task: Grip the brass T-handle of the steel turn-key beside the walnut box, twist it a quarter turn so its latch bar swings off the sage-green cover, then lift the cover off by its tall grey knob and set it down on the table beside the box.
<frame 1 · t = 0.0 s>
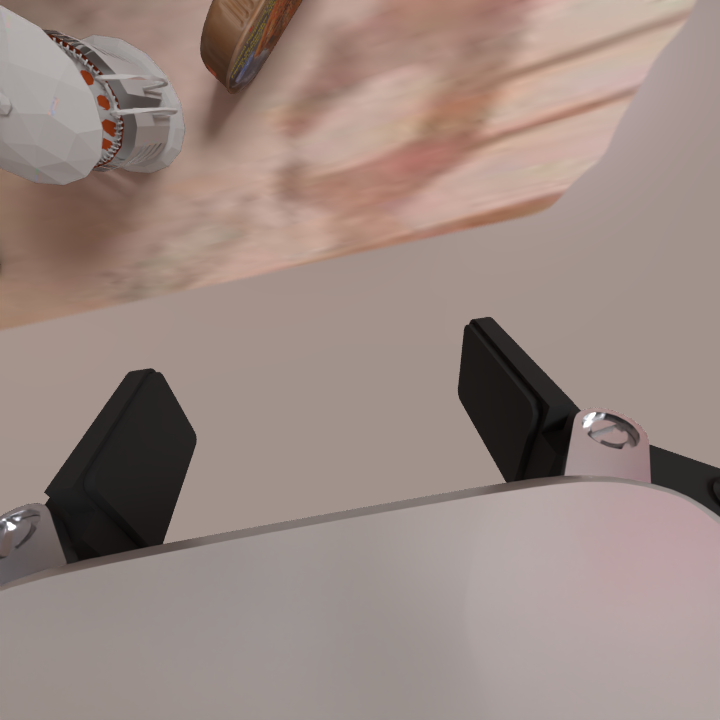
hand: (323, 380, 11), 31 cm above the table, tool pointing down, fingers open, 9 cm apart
french press: (136, 109, 30), on the table
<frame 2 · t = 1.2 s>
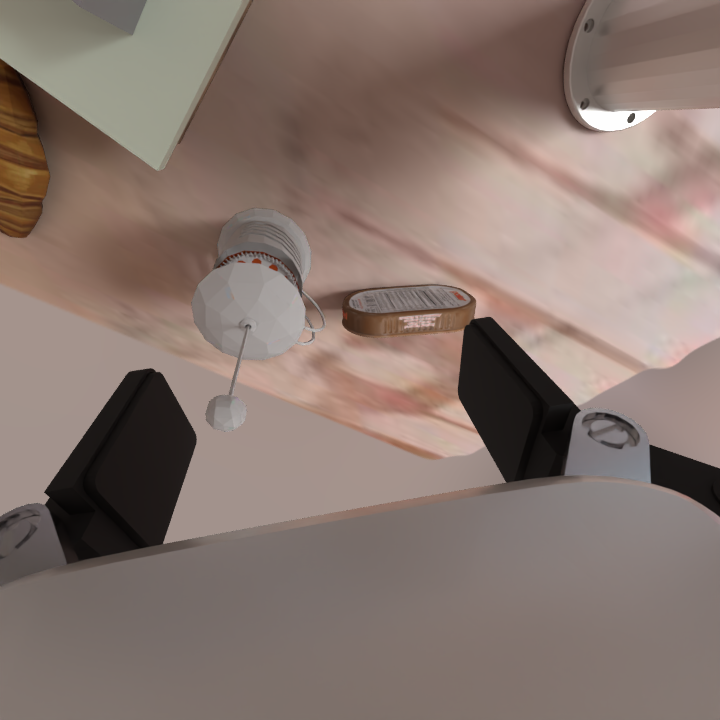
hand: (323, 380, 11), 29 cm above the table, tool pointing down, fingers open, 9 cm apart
tin: (399, 292, 41), on the table
french press: (273, 261, 37), on the table
croissant: (18, 155, 29), on the table
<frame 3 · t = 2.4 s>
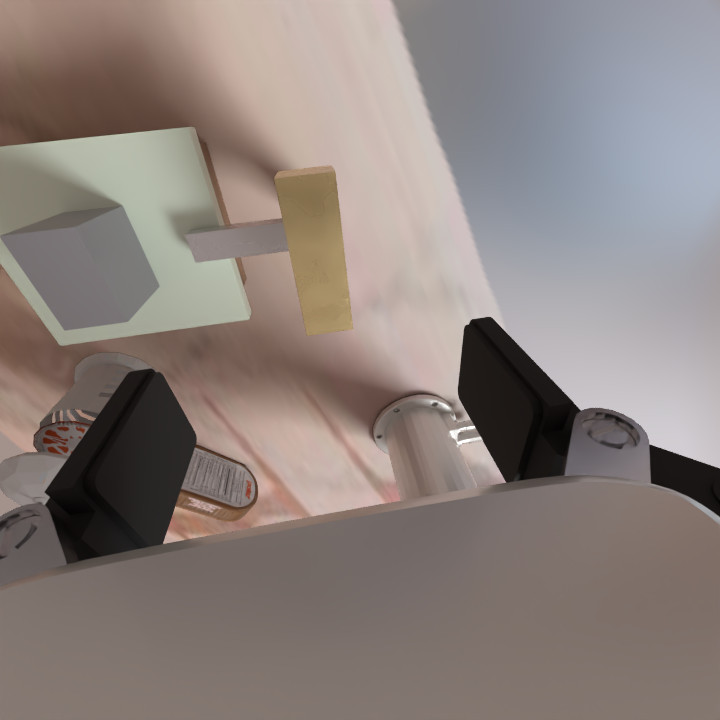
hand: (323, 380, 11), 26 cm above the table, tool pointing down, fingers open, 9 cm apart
tin: (214, 455, 50), on the table
housing: (152, 227, 31), on the table
french press: (126, 390, 41), on the table
key: (265, 235, 25), point 8 cm above the table, hinge at 0.0°
cover: (123, 246, 26), point 6 cm above the table, touching housing
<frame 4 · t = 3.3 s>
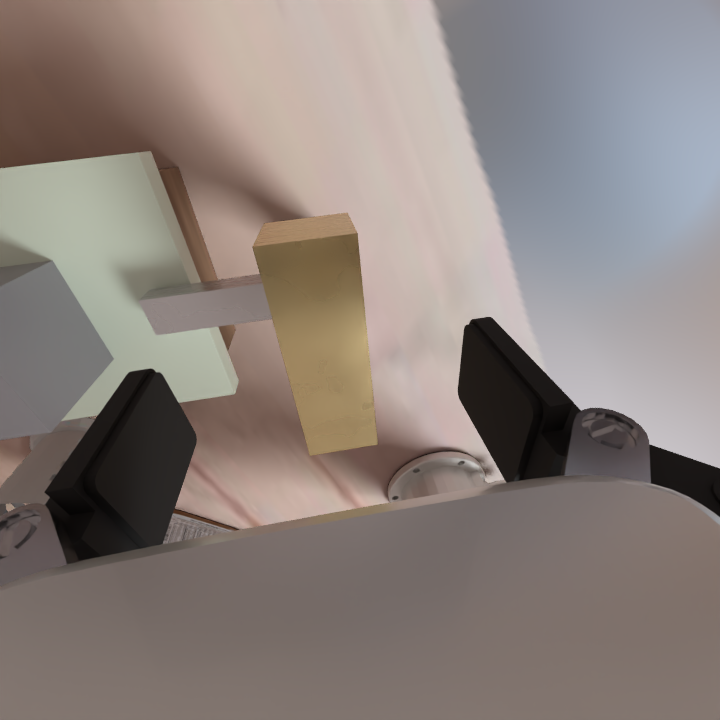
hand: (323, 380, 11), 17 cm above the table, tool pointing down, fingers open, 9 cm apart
tin: (203, 520, 43), on the table
housing: (113, 272, 25), on the table
french press: (94, 456, 34), on the table
key: (253, 295, 18), point 8 cm above the table, hinge at 0.0°
cover: (64, 307, 20), point 6 cm above the table, touching housing
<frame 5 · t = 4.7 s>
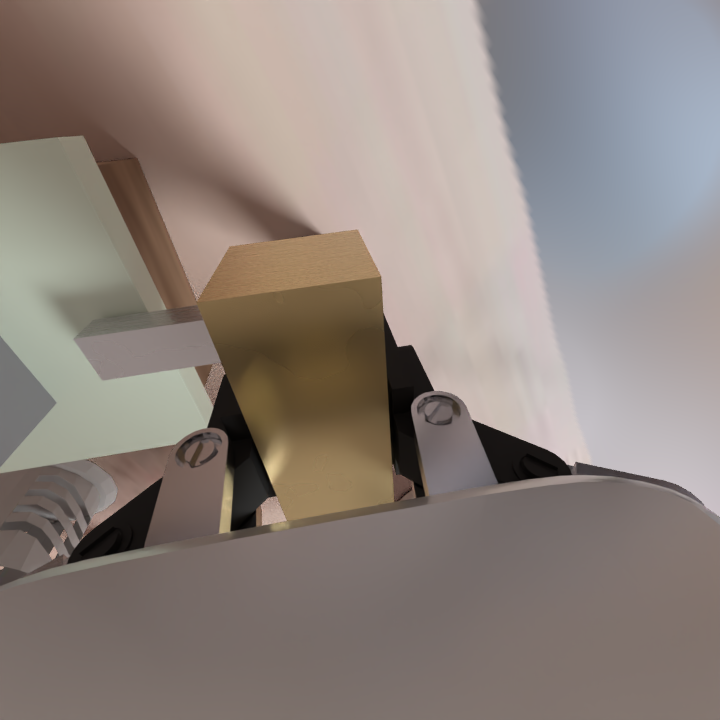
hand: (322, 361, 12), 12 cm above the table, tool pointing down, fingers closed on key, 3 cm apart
housing: (65, 287, 20), on the table
french press: (61, 489, 30), on the table
key: (230, 326, 14), point 8 cm above the table, hinge at 0.0°, touching gripper
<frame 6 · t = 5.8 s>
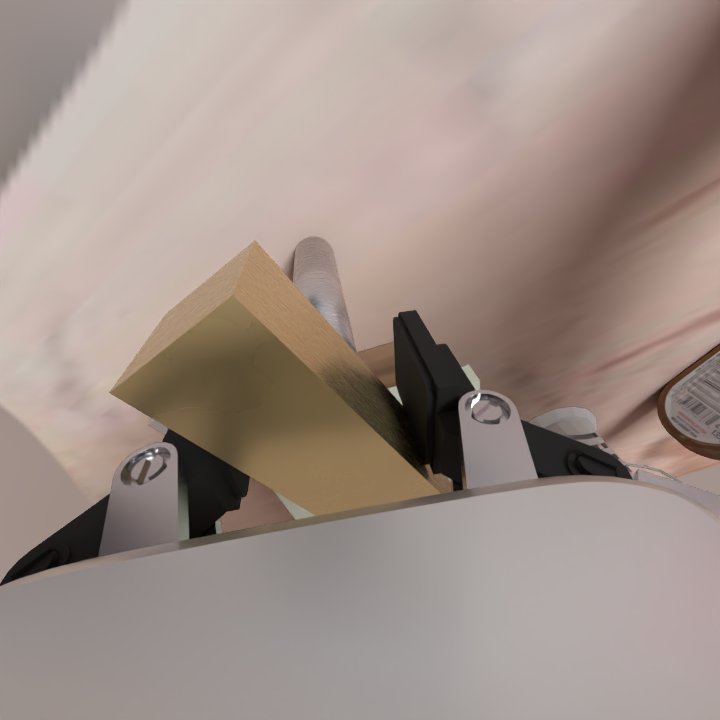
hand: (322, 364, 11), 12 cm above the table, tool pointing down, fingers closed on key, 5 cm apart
tin: (709, 354, 32), on the table
housing: (371, 416, 30), on the table
french press: (557, 437, 36), on the table
key: (254, 362, 15), point 8 cm above the table, hinge at -70.3°, touching gripper
cover: (384, 473, 25), point 6 cm above the table, touching housing
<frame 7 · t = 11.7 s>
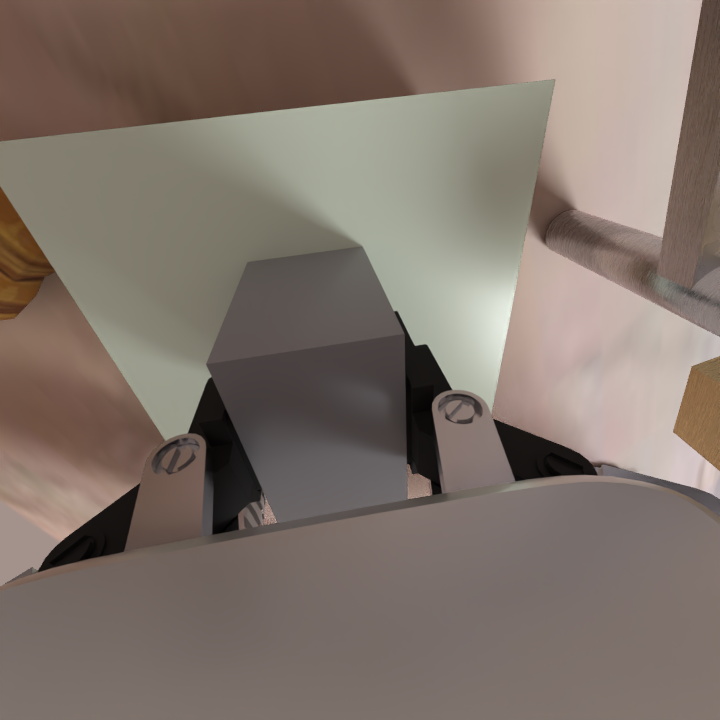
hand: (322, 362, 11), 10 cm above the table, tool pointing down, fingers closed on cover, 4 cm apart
french press: (225, 479, 30), on the table
key: (708, 187, 11), point 8 cm above the table, hinge at -73.9°
cover: (318, 311, 15), point 6 cm above the table, touching gripper, housing
when the fingers open (6 cm above the table, at t = 18.9 s): cover drops 3 cm, on the table.
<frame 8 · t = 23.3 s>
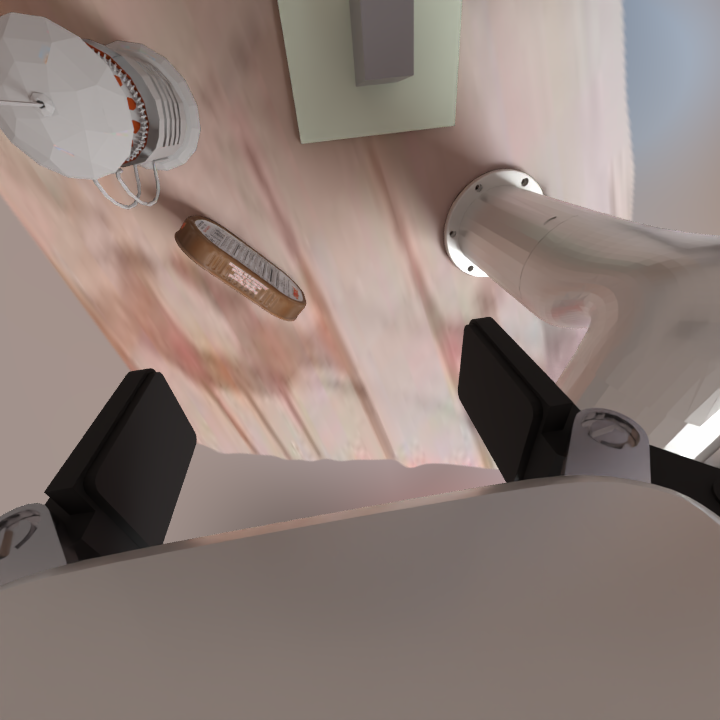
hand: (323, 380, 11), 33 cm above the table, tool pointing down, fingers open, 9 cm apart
tin: (252, 257, 41), on the table
french press: (149, 123, 32), on the table
cover: (371, 44, 32), on the table
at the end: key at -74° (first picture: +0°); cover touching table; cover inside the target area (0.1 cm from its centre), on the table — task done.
